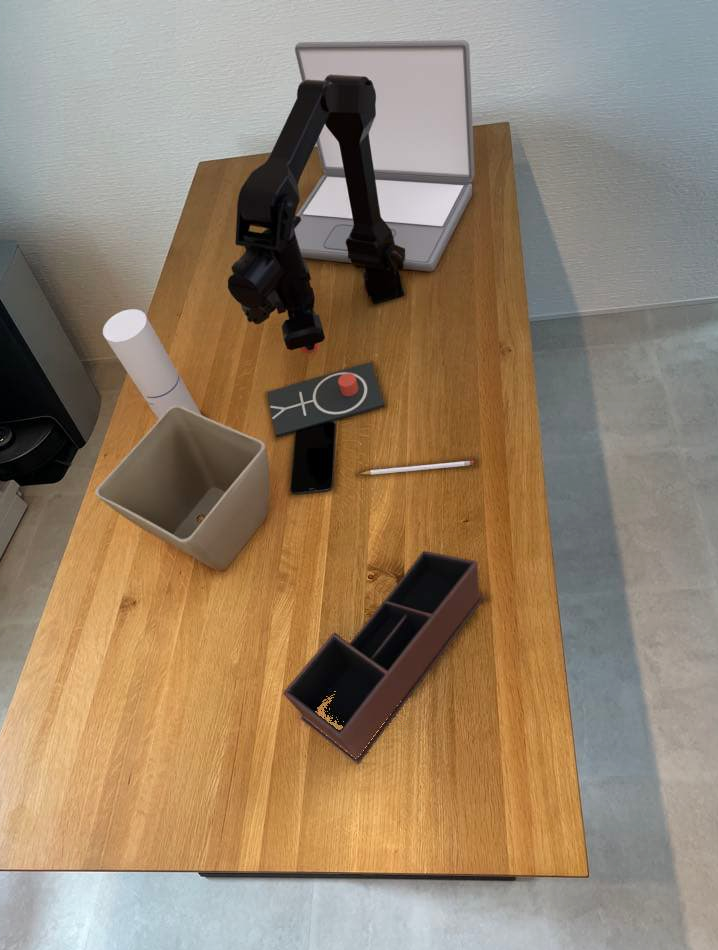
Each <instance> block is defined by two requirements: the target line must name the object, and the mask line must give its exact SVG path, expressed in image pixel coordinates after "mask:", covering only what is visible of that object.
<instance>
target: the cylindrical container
mask: <svg viewBox="0 0 718 950" xmlns="http://www.w3.org/2000/svg"><path fill="white" fill-rule="evenodd" d="M102 335H103V337H104V339H105V340H106V342H107V343H108V345H109V346H110V348H111V350H112V351H113V352H114V354H115V356H116V357H117V359H118V360H119V362H120V363H121V365H122V366H123V368H124V369H125V371H126V372H127V374H128V375H129V377H130V379H131V380H132V382H133V384H134V385H135V386H136V388H137V389H138V391H139V393H140V395H142V397H143V399H144V400H145V402H146V404H147V405H148V406H149V408H150V409H151V411H152V413H153V414H154V415H155V417H156V419H157V421H158V420H159V419H160V418H161V417H162V416H163V415H164V414H165V413H166V411H167V410H168V409H169V408H170V407H171V406H174V405H180V406H182V407H184V408H187V409H189V410H191V411H193V412H195V413H198V414H200V415H202V413H201V411H200V409H199V407H198V405H197V404H196V402H195V400H194V399H193V398H194V397H192V395H191V393H190V391H189V390H188V388H187V386H186V385H185V382H184V381H183V379H182V377H181V376H180V374H179V372H178V370H177V368H176V367H175V365H174V363H173V361H172V359H171V358H170V356H169V354H168V352H167V351H166V349H165V346H164V345H163V343H162V342H161V340H160V338H159V337H158V335H157V333H156V331H155V329H154V327H153V326H152V324H151V322H150V320H149V318H148V317H147V315H146V313H145V312H144V311H142V310H140V309H135V308H129V309H125V310H122V311H120V312H117V313H116V314H113V316H111V317H110V318H109V319H108V320H107V321H106V322H105V323H104V326H103V328H102Z"/></svg>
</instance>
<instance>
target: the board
mask: <svg viewBox="0 0 718 950" xmlns="http://www.w3.org/2000/svg"><path fill="white" fill-rule="evenodd" d="M347 373H350V374H353V375H354V376H355V377H356V381H357V384H358V391H357V393H356V394H354V395H352V396H344V395H343V394H342V393H341V390H340V387H339V383H338V380H339V378H340V377H341V376H342V375H343V374H347ZM266 392H267V398H268V402H269V403H268V405H269V408H270V414H271V420H272V426H273V432H274V436H275V438H276V439H277V438H278V439H279V438H281V437H284V436H288V435H291V434H295V432H296V431H298V430H301V429H305V428H308V427H312V426H315V425H319V424H322V423H326V422H334V423H335V422H337V421H341V420H343V419H348V418H351V417H354V416H358V415H362V414H365V413H368V412H372V411H375V410H379V409H382V408H385V407H386V406H385V402H384V400H383V396H382V393H381V389H380V387H379V383H378V380H377V377H376V374H375V370H374V367H373V364H372V362H371V361H369V362H365V363H361V364H359V365H355V366H351V367H349V368H345V369H341V370H337V371H334V372H331V373H329V374H325V375H320V376H316V377H314V378H310V379H307V380H304V381H300V382H296V383H293V384H290V385H286V386H282V387H280V388H279V387H278V388H276V389H272V390H268V391H266Z"/></svg>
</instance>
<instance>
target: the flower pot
mask: <svg viewBox="0 0 718 950" xmlns="http://www.w3.org/2000/svg"><path fill="white" fill-rule="evenodd" d="M270 473H271V472H270V463H269V457H268V451H267V447H266V443H265V442H264V441H262V440H260V439H258V438H255V437H254V436H251V435H248V434H246V433H243V432H242V431H239V430H237V429H234V428H232V427H230V426H227V425H225V424H222V423H221V422H218V421H216V420H214V419H212V418H209V417H207V416H204V415H202V414H201V415H200V414H198V413H195V412H193V411H191V410H189V409H187V408H184V407H182V406H180V405H174V406H171V407H170V408H169V409H168V410H167V411H166V413H165V414H164V415H163V416H162V417H161V418H160V419H159V420H158V419H157V421H156V423H154V425H153V426H152V427H151V428H150V429H149V430H148V431H147V433H146V434H145V435H144V436H143V437H142V438H141V439H140V440H139V441H138V442H137V444H136V445H135V446H133V448H131V450H130V451H129V452H128V453H127V454H126V456H125V457H124V458H123V459H121V461H120V462H119V463H118V464H117V465H116V466H115V467H114V469H113V470H112V471H111V472H110V473H109V474H108V475H107V476H106V477H105V478H104V480H102V482H100V484H99V485H98V486H97V487H96V489H95V491H94V493H95V496H96V497H97V498H98V499H99V500H101V501H102V502H103V503H104V504H106V505H107V506H108V507H110V508H111V509H112V510H114V511H115V512H116V513H118V514H119V515H121V516H122V517H123V518H124V519H126V520H127V521H129V522H131V523H132V524H134V525H135V526H137V527H138V528H140V529H142V530H143V531H145V532H147V533H148V534H150V535H152V536H154V537H156V538H157V539H159V540H161V541H163V542H165V543H166V544H168V545H170V546H172V547H174V548H176V549H178V550H179V551H181V552H183V553H185V554H187V555H189V556H191V557H192V558H194V559H195V560H198V561H199V562H201V563H202V564H204V565H206V566H208V567H210V568H211V569H213V570H215V571H218V572H224V571H226V570H227V569H228V568H229V567H230V566H231V564H232V563H233V562H234V560H235V559H236V558H237V557H238V555H239V554H240V553H241V551H242V550H243V549H244V548H245V546H246V545H247V544H248V543H249V541H250V540H251V538H252V537H253V536H254V535H255V534H256V532H257V531H258V530H259V528H260V527H261V526H262V524H263V523H264V522H265V521H266V519H267V518H268V515H269V510H270V500H271V499H270V498H271V474H270ZM200 516H203V517H204V518H203V519H202V520H201V521H198V517H200Z"/></svg>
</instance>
